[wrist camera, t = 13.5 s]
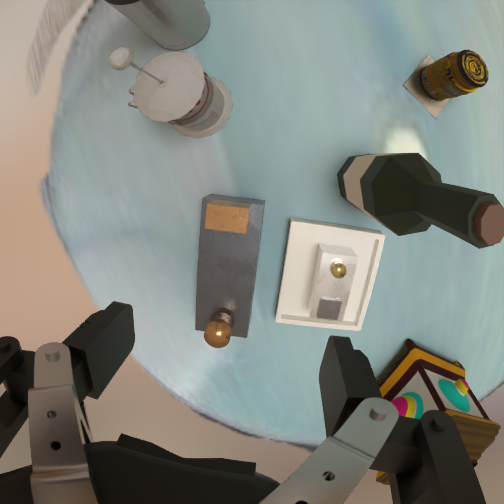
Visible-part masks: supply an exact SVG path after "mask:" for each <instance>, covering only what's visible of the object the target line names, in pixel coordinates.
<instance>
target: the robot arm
mask: <svg viewBox="0 0 504 504" xmlns="http://www.w3.org/2000/svg"><path fill="white" fill-rule="evenodd" d="M105 1H106V2H108V3H109V4H110V5H112V6H113V7H114V8H116V9H117V10H118V11H119V12H121V13H122V14H123V15H125V16H126V17H127V18H128V19H130V20H131V21H132V22H133V23H134V24H136V25H137V26H138V27H139V28H141V29H142V30H143V31H144V32H145V33H146V34H148V35H149V36H150V37H151V38H152V39H154V40H155V41H156V42H157V43H158V44H159V45H161V46H162V47H164V48H166V49H170V50H180V49H185V48H188V47H190V46H192V45H194V44H196V43H197V42H199V41H200V40H201V39H202V38H203V37H204V36H205V34H206V33H207V31H208V29H209V26H210V17H209V14H208V12H207V10H206V8H205V6H204V4H205V3H204V1H203V0H105ZM134 342H135V332H134V320H133V309H132V306H131V305H130V304H125V303H120V302H116V301H114V302H112V303H111V304H110V305H109V306H108V307H107V308H106V309H105V310H100V311H98V312H96V313H94V314H92V315H91V316H89V318H87V319H86V320H85V322H83V323H82V324H81V325H80V326H79V327H78V328H77V329H76V330H75V331H74V332H73V333H72V334H70V335H69V336H68V337H67V338H66V339H65V340H64V341H63V342H62V343H58V342H51V343H47V344H44V345H42V346H41V347H39V348H38V349H37V351H36V352H33V351H26V350H22V349H21V346H20V343H19V341H18V340H17V339H16V338H14V337H10V336H5V337H1V338H0V384H1V383H2V382H3V384H4V386H5V388H6V391H5V392H4V393H3V395H2V396H1V397H0V458H1V456H2V455H3V453H4V452H5V450H6V449H7V447H8V446H9V444H10V443H11V441H12V440H13V438H14V437H15V435H16V434H17V432H18V431H19V430H20V428H21V427H22V425H23V424H24V422H25V421H26V420H27V418H28V417H29V435H30V448H31V457H32V465H29V466H26V467H23V468H19V469H16V470H13V471H10V472H6V473H3V474H0V504H343V503H344V502H345V501H346V499H347V498H348V497H349V496H350V494H351V493H352V492H353V490H354V489H355V487H356V486H357V485H358V483H359V482H360V481H361V479H362V477H363V476H364V475H365V473H366V472H367V470H368V469H372V470H377V471H382V472H388V475H389V481H390V487H391V493H392V500H393V504H486V502H485V499H484V495H483V492H482V490H481V487H480V484H479V481H478V478H477V476H476V473H475V470H474V467H473V465H472V462H471V460H470V457H469V455H468V452H467V450H466V447H465V445H464V442H463V440H462V438H461V435H460V433H459V431H458V428H457V426H456V424H455V422H454V420H453V418H452V417H451V416H450V415H448V414H447V413H445V412H443V411H440V410H429V411H426V412H425V413H424V414H423V415H422V417H421V418H420V419H415V418H410V417H405V416H401V415H399V413H398V410H397V408H396V407H395V406H394V405H393V404H392V403H391V402H389V401H387V400H385V399H383V398H382V395H381V392H380V389H379V387H378V384H377V381H376V378H375V376H374V373H373V370H372V368H371V365H370V363H369V360H368V358H367V357H366V356H365V355H364V354H363V353H362V352H361V351H360V350H354V349H353V346H352V343H351V341H350V338H349V337H342V336H330V337H329V339H328V342H327V346H326V349H325V353H324V356H323V360H322V363H321V367H320V372H319V384H320V391H321V398H322V405H323V413H324V420H325V428H326V436H327V438H326V439H325V440H324V442H323V443H322V444H321V445H320V446H319V447H318V448H317V449H316V450H315V451H314V452H313V453H312V454H311V455H310V456H309V457H308V459H307V460H306V461H305V462H304V463H303V464H302V465H301V466H299V468H298V469H296V470H295V471H294V472H293V473H292V474H291V475H290V476H289V477H288V478H287V479H286V480H285V481H284V482H283V483H282V484H280V483H278V482H277V481H275V480H273V479H272V478H269V477H267V476H265V475H263V474H260V473H257V472H255V469H256V463H253V462H245V461H237V460H230V459H224V458H182V457H180V456H178V455H175V454H173V453H171V452H169V451H167V450H165V449H163V448H161V447H159V446H157V445H155V444H153V443H151V442H147V441H144V440H141V439H137V438H134V437H130V436H128V435H125V434H121V435H120V437H119V439H118V441H100V442H94V440H93V436H92V432H91V428H90V424H89V420H88V415H87V411H86V406H85V403H84V399H85V398H86V396H89V397H92V398H94V399H98V398H99V396H100V395H101V394H102V392H103V391H104V389H105V388H106V386H107V385H108V383H109V382H110V380H111V379H112V377H113V376H114V375H115V373H116V372H117V370H118V369H119V367H120V366H121V365H122V363H123V362H124V361H125V359H126V358H127V356H128V355H129V353H130V352H131V351H132V349H133V346H134Z"/></svg>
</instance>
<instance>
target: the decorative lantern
mask: <svg viewBox="0 0 504 504" xmlns="http://www.w3.org/2000/svg"><path fill="white" fill-rule="evenodd" d="M406 346H407V352H406V354H405V355H404V357H403V358H402V359H401V360H400V362H399V363H398V364H397V365H396V366H395V368H394V369H393V370H392V371H391V372H390V374H389V375H388V376H387V377H386V378H385V379H384V381H383V382H382V383H381V384H380V385H379V386H378V387H379V389H380V392H381V395H382V398H383V399H385V400H387V401H389V402H391V403H392V404H393V405H394V406H395V407H396V408H397V410H398V413H399V415H401V416H405V417H410V418H415V419H420V418H421V417H422V415H423V414H424V413H425V412H426V411H429V410H440V411H443V412H445V413H447V414H448V415H450V416H451V417H452V418H453V420H454V422H455V424H456V426H457V428H458V431H459V433H460V435H461V438H462V440H463V442H464V445H465V447H466V450H467V452H468V455H469V457H470V460H471V462H472V465H473V467H475V466H476V465H477V464H478V463H477V460H478V459H479V458H480V457H481V454H482V453H483V452H484V451H485V449H486V448H487V447H488V446H489V445H491V443H493V441H494V440H495V437H496V436H497V434H498V431H499V429H500V425H499V424H498V423H496V422H493V421H491V420H490V419H489V418H488V416H487V414H486V413H485V411H484V410H483V408H482V407H481V405H480V403H479V402H478V400H477V399H476V397H475V395H474V394H473V392H472V391H471V389H470V388H469V386H468V384H467V382H466V381H465V369H464V368H463V366H462V365H461V364H460V363H459V362H455V363H451V362H449V361H447V360H445V359H443V358H441V357H438V356H436V355H434V354H432V353H430V352H428V351H425V350H423V349H421V348H420V347H418V346H417V345H416V344H415V343H414V342H413V341H412V340H410V339H408V340H407V341H406ZM376 481H377V482H381V483H383V484H386V485H390V481H389V475H388V472H382V471H378V474H377V477H376Z"/></svg>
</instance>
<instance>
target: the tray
mask: <svg viewBox="0 0 504 504" xmlns="http://www.w3.org/2000/svg"><path fill="white" fill-rule="evenodd" d="M384 239H385V235H384V234H383V233H382V232H380V231H376V230H370V229H363V228H357V227H351V226H345V225H338V224H332V223H325V222H318V221H311V220H304V219H297V218H291V219H290V226H289V233H288V240H287V246H286V253H285V259H284V266H283V272H282V279H281V285H280V291H279V297H278V303H277V309H276V317H275V322H278V323H286V324H295V325H304V326H313V327H323V328H333V329H344V330H355V331H360V330H361V327H362V324H363V321H364V317H365V314H366V311H367V307H368V304H369V300H370V296H371V293H372V289H373V285H374V281H375V278H376V274H377V270H378V266H379V261H380V257H381V253H382V248H383V244H384ZM319 243H321V244H328V245H335V246H342V247H349V248H352V250H353V251H354V252H355V254H356V255H357V256H358V261H357V265H356V270H355V274H354V278H353V282H352V287H351V291H350V295H349V299H348V302H347V306H346V310H345V314H344V318H343V321H342V322H340V321H330V320H320V319H311V318H309V314H308V308H307V301H308V297H309V292H310V287H311V282H312V277H313V271H314V266H315V261H316V255H317V250H318V244H319Z"/></svg>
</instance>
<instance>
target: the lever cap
mask: <svg viewBox="0 0 504 504" xmlns="http://www.w3.org/2000/svg"><path fill="white" fill-rule="evenodd" d="M357 261H358V256H357V255H356V254H355V252H354V251H353V250H352V248H349V247H342V246H335V245H328V244H321V243H319V244H318V250H317V255H316V261H315V266H314V271H313V277H312V282H311V287H310V292H309V297H308V301H307V308H308V314H309V318H311V319H320V320H330V321H340V322H342V321H343V318H344V314H345V310H346V306H347V302H348V299H349V295H350V291H351V287H352V282H353V278H354V274H355V270H356V265H357Z"/></svg>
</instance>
